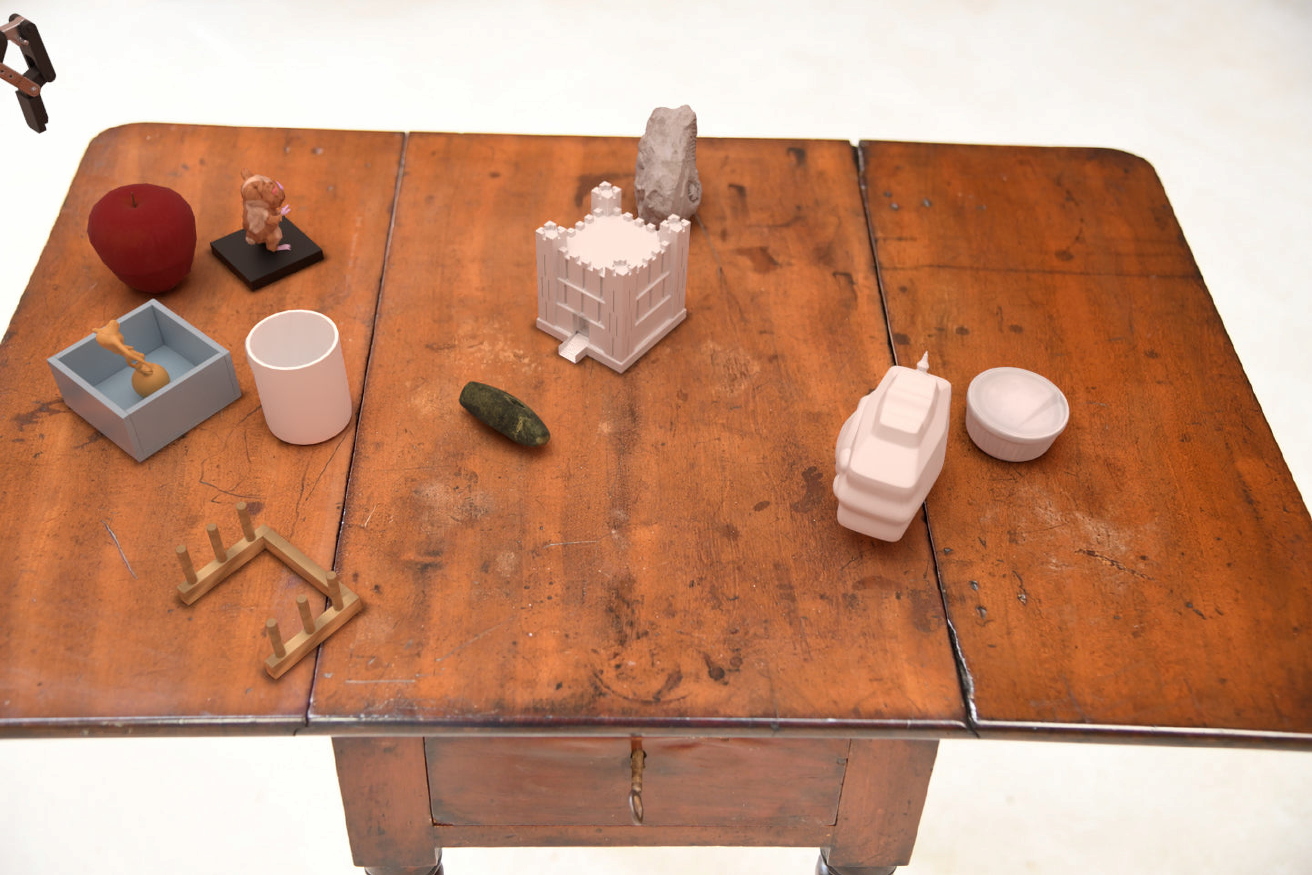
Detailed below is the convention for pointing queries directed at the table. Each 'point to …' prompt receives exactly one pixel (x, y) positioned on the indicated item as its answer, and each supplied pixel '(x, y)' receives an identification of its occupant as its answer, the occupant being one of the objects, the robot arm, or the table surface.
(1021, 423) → the ramekin
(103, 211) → the apple
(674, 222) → the castle model
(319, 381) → the mug
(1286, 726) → the table surface
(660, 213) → the fossil
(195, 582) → the drying rack
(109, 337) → the figurine
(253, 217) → the figurine
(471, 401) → the decorative stone
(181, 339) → the light blue open box
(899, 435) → the white tiered block
